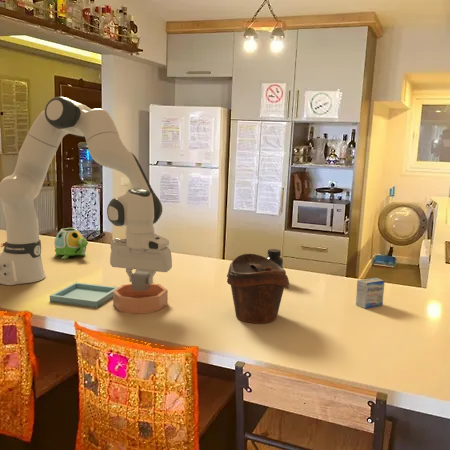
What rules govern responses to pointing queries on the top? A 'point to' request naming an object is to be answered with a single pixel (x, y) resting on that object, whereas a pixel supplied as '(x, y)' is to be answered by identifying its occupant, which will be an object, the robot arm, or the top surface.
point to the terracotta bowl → (140, 299)
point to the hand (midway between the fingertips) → (141, 282)
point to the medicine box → (370, 293)
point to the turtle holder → (70, 243)
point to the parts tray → (83, 294)
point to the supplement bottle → (275, 256)
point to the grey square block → (140, 281)
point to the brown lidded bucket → (256, 287)
